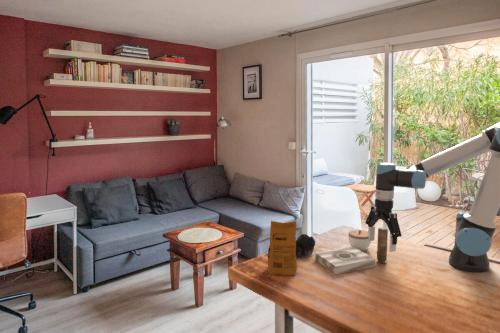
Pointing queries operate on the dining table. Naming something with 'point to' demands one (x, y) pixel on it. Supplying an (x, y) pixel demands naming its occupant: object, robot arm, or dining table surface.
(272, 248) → the coffee package
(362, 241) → the lidded jar
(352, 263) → the board
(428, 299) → the dining table surface
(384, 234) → the peg
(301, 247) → the crystal cluster
